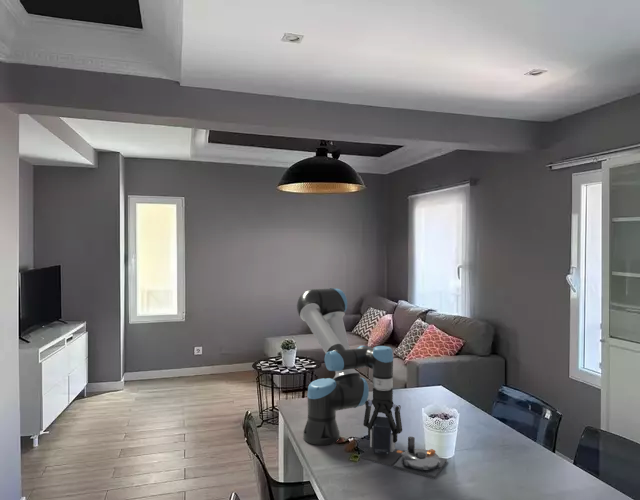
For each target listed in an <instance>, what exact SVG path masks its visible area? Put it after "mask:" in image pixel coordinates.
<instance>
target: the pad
mask: <svg viewBox="0 0 640 500" xmlns="http://www.w3.org/2000/svg"><path fill="white" fill-rule="evenodd" d="M405 451H406V450H400V449H397V448H395V450H394V451H393V452H390V454H389V455H385V454H374V453H373V446H372V447H370V446H369V447H368V448H367V449H366V450H364V452H363V453H362V454H361V455H359V457H360V458H359V459H363V460H366V461H370V462H372V463H373V462H375V463H378V464H382V465H385V466H389V467H394V465H395V463H396V462H397V461H398V460H399V459H400V458H401V454H402V452H405Z"/></svg>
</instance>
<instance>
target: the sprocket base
mask: <svg viewBox="0 0 640 500" xmlns="http://www.w3.org/2000/svg"><path fill="white" fill-rule="evenodd" d="M439 460H440V461H441V465H440V466H438V467H436V468H434V469H431V470H419V469H414V468H411V467H409V466H406V465H405V464H404V462H403V457H400V458H399V459H398V461H397V462H396V463H395V464H394V465H393V469H394V470H395V469H396V470H399V471H403V472H407V473H411V474H414V475H418V476H421V477H424V478H430V479H433V480H436V479H437V477H438V475H439V474H440V473H441V472H442V470H443V468H444V467H445V465H446V464H447V463H448V459H447V458H444V457H440V456H439Z"/></svg>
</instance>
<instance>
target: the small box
mask: <svg viewBox="0 0 640 500" xmlns="http://www.w3.org/2000/svg"><path fill="white" fill-rule="evenodd" d="M372 428H373V453H374V454H385V455H389V454H390V439H391V433H392V430H391V427H390V424H389V422H388V419H387V417H386V416H378V415H377V418H376V419H375V421H374V425H373V427H372Z"/></svg>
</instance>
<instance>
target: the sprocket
mask: <svg viewBox="0 0 640 500" xmlns="http://www.w3.org/2000/svg"><path fill="white" fill-rule="evenodd" d="M415 444H416V443H415V437H414V436H408V438H407V450H404V451H405V452H402V454H401V457H403V462H404V464H405V465H406V466H409V467H411V468H414V469H419V470H431V469H434V468H436V467H438V466H440V465H441V461H440V460H439V457H440V456H439V455H438V454H437V453H436V450H435V449H432V448H430V449H425V448H415ZM401 457H400V458H401Z"/></svg>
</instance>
